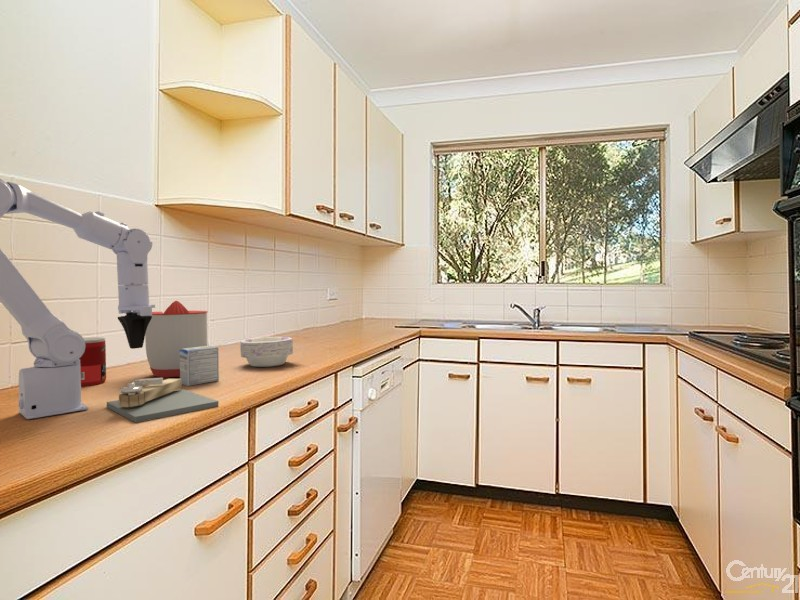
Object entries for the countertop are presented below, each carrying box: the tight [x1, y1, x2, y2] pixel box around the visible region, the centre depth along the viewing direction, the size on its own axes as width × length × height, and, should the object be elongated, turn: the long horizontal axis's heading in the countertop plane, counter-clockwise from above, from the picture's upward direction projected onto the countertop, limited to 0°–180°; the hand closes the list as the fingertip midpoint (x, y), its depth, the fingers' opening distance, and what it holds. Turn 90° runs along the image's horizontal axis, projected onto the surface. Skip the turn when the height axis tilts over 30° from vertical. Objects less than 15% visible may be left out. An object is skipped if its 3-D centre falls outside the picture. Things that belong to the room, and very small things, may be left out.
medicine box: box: [179, 345, 220, 387], centre depth 116 cm, size 8×4×9 cm, turn 141°
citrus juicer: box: [144, 300, 209, 379], centre depth 128 cm, size 16×17×20 cm
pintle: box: [120, 382, 142, 408], centre depth 89 cm, size 4×4×6 cm
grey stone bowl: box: [239, 336, 294, 368], centre depth 142 cm, size 15×15×8 cm
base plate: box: [106, 389, 219, 423], centre depth 93 cm, size 15×16×1 cm
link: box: [118, 378, 183, 407], centre depth 95 cm, size 16×4×2 cm, turn 175°
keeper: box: [132, 377, 164, 387], centre depth 95 cm, size 2×5×5 cm, turn 109°
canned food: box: [79, 336, 107, 387], centre depth 116 cm, size 8×8×11 cm
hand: (136, 347), depth 102 cm, fingers closed
